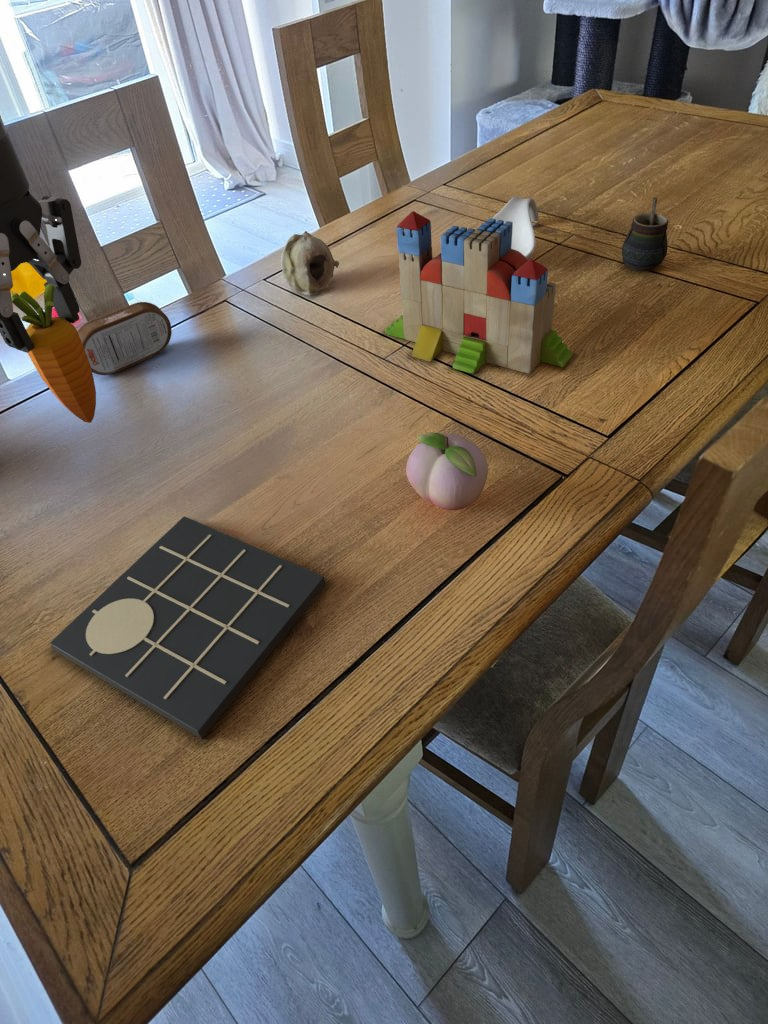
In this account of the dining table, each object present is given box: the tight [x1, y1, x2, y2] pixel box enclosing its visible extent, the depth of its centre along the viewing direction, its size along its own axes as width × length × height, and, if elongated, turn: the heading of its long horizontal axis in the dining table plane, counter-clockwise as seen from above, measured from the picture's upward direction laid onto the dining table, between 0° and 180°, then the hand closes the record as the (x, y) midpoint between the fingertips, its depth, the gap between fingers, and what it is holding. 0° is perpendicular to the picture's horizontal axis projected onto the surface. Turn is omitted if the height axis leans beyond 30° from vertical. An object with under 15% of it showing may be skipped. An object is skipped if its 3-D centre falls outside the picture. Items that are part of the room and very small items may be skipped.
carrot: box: [11, 284, 97, 424], centre depth 67 cm, size 5×5×15 cm
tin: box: [77, 301, 172, 376], centre depth 106 cm, size 15×3×8 cm, turn 130°
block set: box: [384, 210, 574, 375], centre depth 98 cm, size 28×14×19 cm, turn 56°
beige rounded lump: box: [280, 230, 340, 296], centre depth 119 cm, size 9×8×10 cm
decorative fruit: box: [405, 431, 489, 511], centre depth 78 cm, size 9×8×10 cm
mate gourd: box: [621, 197, 669, 273], centre depth 115 cm, size 7×8×10 cm
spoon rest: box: [492, 196, 539, 261], centre depth 124 cm, size 24×12×7 cm, turn 158°
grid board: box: [49, 515, 327, 740], centre depth 72 cm, size 20×20×2 cm
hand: (47, 333), depth 65 cm, fingers closed on carrot, 5 cm apart
